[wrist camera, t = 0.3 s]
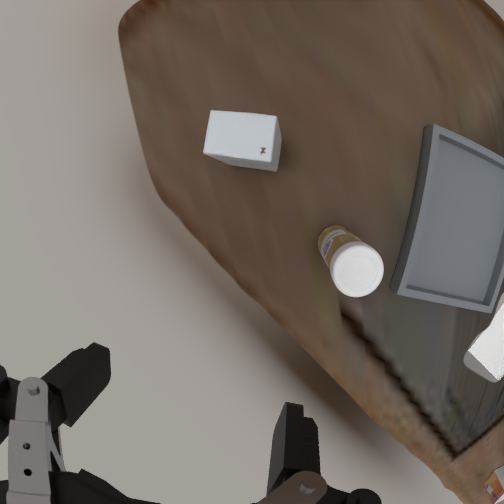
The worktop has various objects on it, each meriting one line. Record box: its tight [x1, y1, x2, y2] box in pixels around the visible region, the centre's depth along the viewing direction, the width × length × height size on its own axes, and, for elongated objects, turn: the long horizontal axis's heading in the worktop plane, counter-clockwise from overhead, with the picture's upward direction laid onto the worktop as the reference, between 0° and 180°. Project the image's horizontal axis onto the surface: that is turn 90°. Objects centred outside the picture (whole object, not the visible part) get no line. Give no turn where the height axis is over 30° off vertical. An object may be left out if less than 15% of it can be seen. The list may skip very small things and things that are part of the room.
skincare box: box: [203, 110, 282, 172], centre depth 29 cm, size 6×4×12 cm
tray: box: [390, 124, 504, 313], centre depth 32 cm, size 22×18×3 cm
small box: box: [484, 466, 504, 504], centre depth 38 cm, size 8×6×10 cm
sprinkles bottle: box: [318, 225, 384, 297], centre depth 30 cm, size 5×5×13 cm
